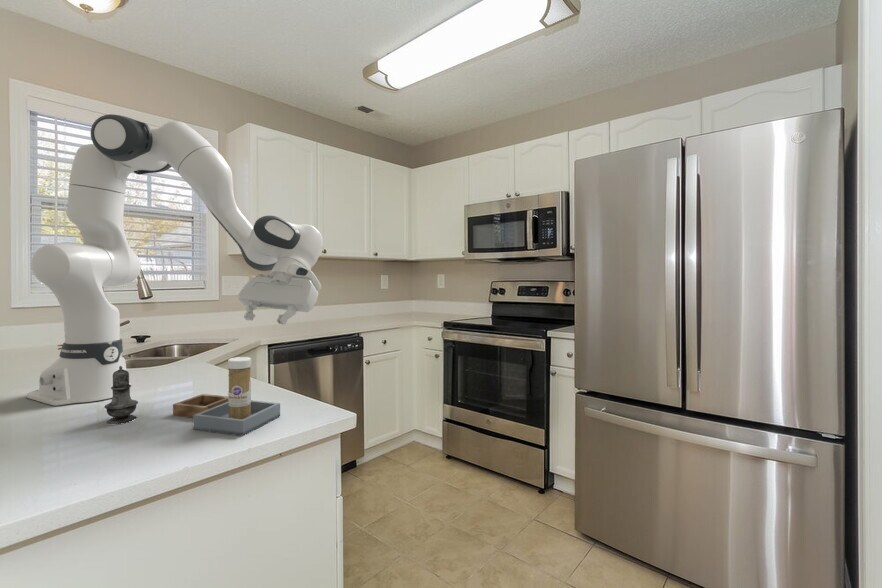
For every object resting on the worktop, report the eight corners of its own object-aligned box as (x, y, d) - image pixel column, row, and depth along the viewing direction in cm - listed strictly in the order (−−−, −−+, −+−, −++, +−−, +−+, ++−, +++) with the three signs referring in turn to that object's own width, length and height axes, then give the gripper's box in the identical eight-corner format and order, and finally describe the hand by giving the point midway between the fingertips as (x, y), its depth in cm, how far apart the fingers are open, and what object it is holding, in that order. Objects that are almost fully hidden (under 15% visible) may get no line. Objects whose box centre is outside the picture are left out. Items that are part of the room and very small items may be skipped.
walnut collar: (173, 415, 96) (172, 404, 96) (203, 403, 104) (203, 393, 104) (204, 419, 94) (204, 407, 93) (232, 407, 102) (232, 396, 102)
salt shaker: (120, 426, 89) (119, 369, 88) (97, 423, 90) (95, 367, 89) (145, 416, 94) (144, 363, 94) (123, 414, 96) (122, 362, 95)
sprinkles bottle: (227, 424, 89) (227, 361, 88) (228, 417, 93) (228, 357, 92) (251, 421, 91) (251, 359, 90) (251, 414, 95) (251, 355, 94)
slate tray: (193, 429, 87) (193, 415, 87) (235, 411, 99) (235, 398, 99) (243, 435, 84) (242, 421, 84) (280, 416, 96) (280, 403, 96)
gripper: (248, 266, 111) (221, 309, 103) (317, 271, 105) (294, 317, 97) (261, 281, 116) (235, 323, 108) (327, 287, 110) (305, 332, 102)
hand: (264, 321), depth 102 cm, fingers open, 8 cm apart
